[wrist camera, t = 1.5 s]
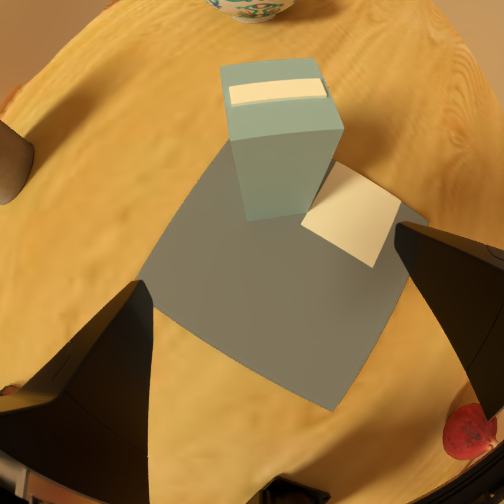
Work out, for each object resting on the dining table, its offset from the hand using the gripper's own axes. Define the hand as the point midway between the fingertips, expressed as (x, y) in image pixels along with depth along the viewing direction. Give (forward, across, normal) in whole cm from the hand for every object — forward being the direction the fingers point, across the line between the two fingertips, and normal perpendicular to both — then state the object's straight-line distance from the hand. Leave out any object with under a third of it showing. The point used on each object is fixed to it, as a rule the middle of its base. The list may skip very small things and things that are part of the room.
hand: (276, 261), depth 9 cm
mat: (+11, -2, +7) cm, 14 cm away
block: (+15, -2, +3) cm, 15 cm away
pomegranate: (-2, -16, +23) cm, 28 cm away
